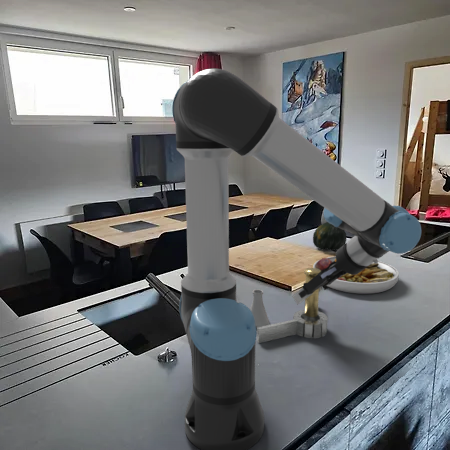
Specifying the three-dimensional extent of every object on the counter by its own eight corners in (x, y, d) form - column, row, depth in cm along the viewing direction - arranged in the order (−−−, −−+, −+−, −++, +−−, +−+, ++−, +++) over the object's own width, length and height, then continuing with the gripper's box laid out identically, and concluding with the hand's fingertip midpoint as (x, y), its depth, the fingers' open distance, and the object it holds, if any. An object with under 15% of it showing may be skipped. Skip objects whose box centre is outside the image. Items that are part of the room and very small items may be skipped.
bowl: (384, 268, 161) (385, 249, 160) (410, 298, 132) (412, 276, 130) (308, 266, 164) (309, 248, 162) (318, 296, 135) (319, 274, 133)
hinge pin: (318, 318, 108) (320, 274, 105) (302, 316, 109) (303, 272, 106) (319, 311, 112) (321, 268, 109) (304, 309, 113) (305, 267, 110)
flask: (249, 330, 112) (249, 297, 110) (241, 319, 119) (241, 288, 116) (273, 327, 114) (274, 294, 111) (264, 316, 120) (265, 285, 118)
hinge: (324, 352, 100) (324, 338, 99) (256, 342, 105) (256, 329, 104) (329, 307, 126) (330, 295, 125) (274, 301, 131) (275, 289, 130)
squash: (305, 233, 193) (317, 215, 182) (332, 232, 198) (346, 214, 186) (314, 258, 186) (328, 241, 174) (342, 256, 190) (357, 239, 178)
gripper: (348, 275, 90) (288, 319, 106) (383, 259, 101) (324, 300, 117) (329, 248, 93) (273, 294, 108) (365, 235, 104) (310, 279, 119)
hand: (300, 297), depth 113 cm, fingers closed on hinge pin, 3 cm apart
